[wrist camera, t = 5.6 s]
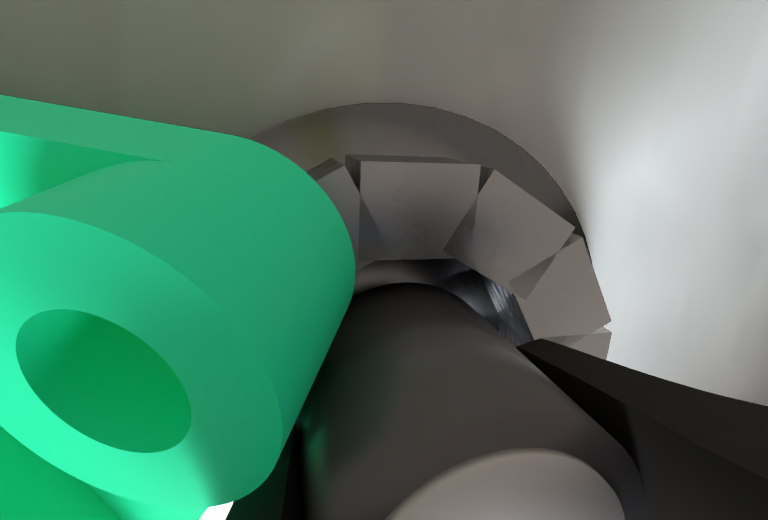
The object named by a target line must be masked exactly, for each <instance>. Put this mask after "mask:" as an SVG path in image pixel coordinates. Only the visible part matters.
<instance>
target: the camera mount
mask: <svg viewBox="0 0 768 520" xmlns="http://www.w3.org/2000/svg"><path fill="white" fill-rule="evenodd" d="M355 268H356V267H355V258H354V252H353V247H352V243H351V240H350V237H349V234H348V231H347V228H346V226H345V224H344V222H343V220H342V217H341V216H340V214H339V212H338V211H337V209H336V207H335V205H334V204H333V202H332V201H331V200H330V198H329V197H328V196H327V194H326V193H325V192H324V190H323V189H322V188H321V187H320V186H319V185H318V184H317V183H316V181H315V180H314V179H313V178H311V177H310V176H309V175H308V174H307V173H306V172H305V171H304V170H303V169H302V168H300V167H299V166H298V165H296V164H295V163H294V162H292V161H291V160H290V159H288V158H286V157H285V156H283V155H282V154H280V153H279V152H277V151H275V150H273V149H271V148H269V147H267V146H265V145H263V144H260V143H257V142H255V141H252V140H250V139H246V138H242V137H238V136H235V135H229V134H224V133H218V132H212V131H206V130H201V129H195V128H189V127H183V126H178V125H172V124H166V123H160V122H155V121H149V120H143V119H137V118H132V117H126V116H120V115H114V114H109V113H103V112H97V111H91V110H86V109H80V108H74V107H68V106H63V105H57V104H51V103H45V102H40V101H34V100H28V99H22V98H17V97H11V96H5V95H0V520H199V519H200V518H201V516H202V515H203V514H204V513H205V511H206V510H207V509H208V508H209V507H215V506H219V505H223V504H228V503H230V502H233V501H236V500H238V499H241V498H242V497H244V496H246V495H248V494H250V493H251V492H253V491H254V490H255V489H257V488H258V487H259V486H260V485H261V484H262V483H263V482H264V481H265V480H266V479H267V478H268V476H269V475H270V473H271V472H272V470H273V469H274V467H275V465H276V463H277V461H278V458H279V456H280V454H281V452H282V450H283V448H284V445H285V443H286V441H287V439H288V437H289V434H290V432H291V430H292V428H293V426H294V424H295V421H296V419H297V417H298V415H299V413H300V411H301V408H302V406H303V404H304V402H305V400H306V398H307V395H308V393H309V391H310V389H311V387H312V385H313V382H314V380H315V378H316V376H317V374H318V372H319V369H320V367H321V365H322V363H323V361H324V359H325V356H326V354H327V352H328V350H329V348H330V346H331V343H332V341H333V339H334V337H335V335H336V332H337V330H338V328H339V326H340V324H341V322H342V319H343V317H344V315H345V313H346V311H347V308H348V306H349V304H350V302H351V298H352V295H353V291H354V285H355Z"/></svg>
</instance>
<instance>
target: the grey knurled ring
mask: <svg viewBox="0 0 768 520" xmlns="http://www.w3.org/2000/svg"><path fill="white" fill-rule="evenodd" d="M250 140H252V141H255V142H257V143H260V144H263V145H265V146H267V147H269V148H271V149H273V150H275V151H277V152H279V153H280V154H282V155H283V156H285V157H286V158H288V159H290V160H291V161H292V162H294V163H295V164H296V165H298V166H299V167H300V168H302V169H303V170H304V171H305V172H306V173H307V174H308V175H309V176H310V177H311V178H313V179H314V180H315V181H316V183H317V184H318V185H319V186H320V187H321V188H322V189H323V190H324V192H325V193H326V194H327V196H328V197H329V198H330V200H331V201H332V202H333V204H334V205H335V207H336V209H337V211H338V212H339V214H340V216H341V217H342V220H343V222H344V224H345V226H346V228H347V231H348V234H349V237H350V240H351V243H352V247H353V252H354V258H355V267H356V268H355V285H354V291H353V295H352V297H353V296H355V295H357V294H359V293H361V292H364V291H366V290H369V289H372V288H375V287H378V286H382V285H387V284H392V283H402V282H414V283H423V284H429V285H433V286H437V287H440V288H443V289H445V290H447V291H449V292H452V293H454V294H455V295H457V296H458V297H460V298H461V299H463V300H464V301H465V302H466V303H468V304H469V305H470V306H471V307H472V308H473V309H474V310H475V311H476V312H477V313H478V314H480V315H481V316H482V317H483V318H484V319H485V320H486V321H487V322H488V323H489V324H490V325H491V326H493V327H494V328H495V329H496V330H497V331H498V332H499V333H500V334H501V335H502V336H503V337H504V338H506V339H507V340H508V341H509V342H510V343H511V344H512V345H513V346H514V347H515V348H516V346H519V345H522V344H525V343H528V342H531V341H534V340H537V339H540V338H542V339H545V340H549V341H552V342H555V343H558V344H561V345H564V346H567V347H570V348H573V349H576V350H578V351H581V352H584V353H587V354H590V355H593V356H595V357H598V358H601V359H604V360H606V358H607V353H608V348H609V343H610V339H611V334H612V332H610V331H609V330H607V329H605V328H604V327H602V326H604V325H606V324H607V323H609V322H610V321H611V319H610V316H609V313H608V310H607V307H606V304H605V301H604V298H603V295H602V292H601V290H600V287H599V284H598V281H597V278H596V275H595V272H594V269H593V266H592V260H591V257H590V253H589V249H588V245H587V241H586V238H585V235H584V232H583V230H582V228H581V225H580V223H579V221H578V218H577V216H576V213H575V211H574V210H573V208H572V206H571V205H570V203H569V201H568V200H567V198H566V196H565V195H564V193H563V191H562V190H561V188H560V187H559V186H558V184H557V183H556V182H555V181H554V180H553V178H552V177H551V176H550V175H549V174H548V172H547V171H546V170H545V169H544V167H543V166H542V165H541V164H539V163H538V162H537V161H536V160H535V159H534V158H533V157H532V156H530V155H529V154H528V153H527V152H526V151H525V150H524V149H523V148H521V147H520V146H519V145H517V144H516V143H514V142H513V141H511V140H510V139H508V138H507V137H505V136H503V135H502V134H500V133H499V132H497V131H496V130H494V129H492V128H490V127H487V126H485V125H483V124H481V123H479V122H476V121H474V120H472V119H470V118H468V117H465V116H462V115H458V114H455V113H451V112H448V111H444V110H441V109H437V108H434V107H426V106H419V105H411V104H404V103H363V104H356V105H350V106H343V107H337V108H330V109H325V110H321V111H317V112H314V113H311V114H307V115H304V116H301V117H297V118H294V119H291V120H288V121H286V122H284V123H281V124H279V125H277V126H275V127H273V128H271V129H268V130H266V131H264V132H262V133H260V134H258V135H256V136H254V137H253V138H251V139H250ZM295 426H296V429H297V419H296V421H295ZM297 432H298V431H297ZM232 503H233V502H230V503H228V504H223V505H219V506H215V507H209V508H208V509H207V510H206V511H205V513H204V514H203V515H202V517H203V518H204V519H205V520H225V519H226V516H227V514H228V512H229V510H230V508H231V505H232Z"/></svg>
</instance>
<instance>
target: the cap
mask: <svg viewBox="0 0 768 520" xmlns="http://www.w3.org/2000/svg"><path fill="white" fill-rule="evenodd" d="M297 431H298V442H299V454H300V465H301V477H302V489H303V500H304V512H305V520H644V517H645V498H644V489H643V485H642V481H641V477H640V474H639V472H638V470H637V468H636V465H635V463H634V461H633V459H632V458H631V457H630V455H629V454H628V453H627V451H626V450H625V449H624V447H623V446H622V445H621V444H620V443H618V442H617V441H616V440H615V439H614V438H613V437H612V436H611V435H610V434H609V433H608V432H606V431H605V430H604V429H603V428H602V427H601V426H600V425H599V424H598V423H597V422H596V421H595V420H593V419H592V418H591V417H590V416H589V415H588V414H587V413H586V412H585V411H584V410H583V409H582V408H580V407H579V406H578V405H577V404H576V403H575V402H574V401H573V400H572V399H571V398H570V397H569V396H567V395H566V394H565V393H564V392H563V391H562V390H561V389H560V388H559V387H558V386H557V385H555V384H554V383H553V382H552V381H551V380H550V379H549V378H548V377H547V376H546V375H545V374H544V373H542V372H541V371H540V370H539V369H538V368H537V367H536V366H535V365H534V364H533V363H532V362H531V361H529V360H528V359H527V358H526V357H525V356H524V355H523V354H522V353H521V352H520V351H519V350H517V349H516V348H515V347H514V346H513V345H512V344H511V343H510V342H509V341H508V340H507V339H506V338H504V337H503V336H502V335H501V334H500V333H499V332H498V331H497V330H496V329H495V328H494V327H493V326H491V325H490V324H489V323H488V322H487V321H486V320H485V319H484V318H483V317H482V316H481V315H480V314H478V313H477V312H476V311H475V310H474V309H473V308H472V307H471V306H470V305H469V304H468V303H466V302H465V301H464V300H463V299H461V298H460V297H458V296H457V295H455V294H454V293H452V292H449V291H447V290H445V289H443V288H440V287H437V286H433V285H429V284H423V283H414V282H402V283H392V284H387V285H382V286H378V287H375V288H372V289H369V290H366V291H364V292H361V293H359V294H357V295H355V296H353V297H352V298H351V302H350V304H349V306H348V308H347V311H346V313H345V315H344V317H343V319H342V322H341V324H340V326H339V328H338V330H337V332H336V335H335V337H334V339H333V341H332V343H331V346H330V348H329V350H328V352H327V354H326V356H325V359H324V361H323V363H322V365H321V367H320V369H319V372H318V374H317V376H316V378H315V380H314V382H313V385H312V387H311V389H310V391H309V393H308V395H307V398H306V400H305V402H304V404H303V406H302V408H301V411H300V413H299V415H298V417H297Z"/></svg>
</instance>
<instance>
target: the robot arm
mask: <svg viewBox="0 0 768 520" xmlns="http://www.w3.org/2000/svg"><path fill="white" fill-rule="evenodd" d="M516 349H517V350H519V351H520V352H521V353H522V354H523V355H524V356H525V357H526V358H527V359H528V360H529V361H531V362H532V363H533V364H534V365H535V366H536V367H537V368H538V369H539V370H540V371H541V372H542V373H544V374H545V375H546V376H547V377H548V378H549V379H550V380H551V381H552V382H553V383H554V384H555V385H557V386H558V387H559V388H560V389H561V390H562V391H563V392H564V393H565V394H566V395H567V396H569V397H570V398H571V399H572V400H573V401H574V402H575V403H576V404H577V405H578V406H579V407H580V408H582V409H583V410H584V411H585V412H586V413H587V414H588V415H589V416H590V417H591V418H592V419H593V420H595V421H596V422H597V423H598V424H599V425H600V426H601V427H602V428H603V429H604V430H605V431H606V432H608V433H609V434H610V435H611V436H612V437H613V438H614V439H615V440H616V441H617V442H618V443H620V444H621V445H622V446H623V447H624V449H625V450H626V451H627V453H628V454H629V455H630V457H631V458H632V459H633V461H634V463H635V465H636V468H637V470H638V472H639V474H640V477H641V481H642V485H643V489H644V498H645V517H644V520H768V406H763V405H759V404H755V403H750V402H746V401H742V400H737V399H733V398H729V397H725V396H721V395H717V394H713V393H709V392H705V391H702V390H698V389H695V388H692V387H688V386H685V385H681V384H678V383H674V382H671V381H667V380H664V379H661V378H658V377H655V376H651V375H648V374H645V373H642V372H639V371H636V370H633V369H630V368H627V367H624V366H621V365H618V364H615V363H613V362H610V361H607V360H604V359H601V358H598V357H595V356H593V355H590V354H587V353H584V352H581V351H578V350H576V349H573V348H570V347H567V346H564V345H561V344H558V343H555V342H552V341H549V340H545V339H542V338H540V339H537V340H534V341H531V342H528V343H525V344H522V345H519V346H516ZM225 520H305V512H304V500H303V489H302V477H301V465H300V454H299V442H298V432H297V429H296V426H295V424H294V426H293V428H292V430H291V432H290V434H289V437H288V439H287V441H286V443H285V445H284V448H283V450H282V452H281V454H280V456H279V458H278V461H277V463H276V465H275V467H274V469H273V470H272V472H271V473H270V475H269V476H268V478H267V479H266V480H265V481H264V482H263V483H262V484H261V485H260V486H259V487H258V488H257V489H255V490H254V491H253V492H251V493H250V494H248V495H246V496H244V497H242V498H241V499H238V500H236V501H233V503H232V505H231V508H230V510H229V512H228V514H227V516H226V519H225Z"/></svg>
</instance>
